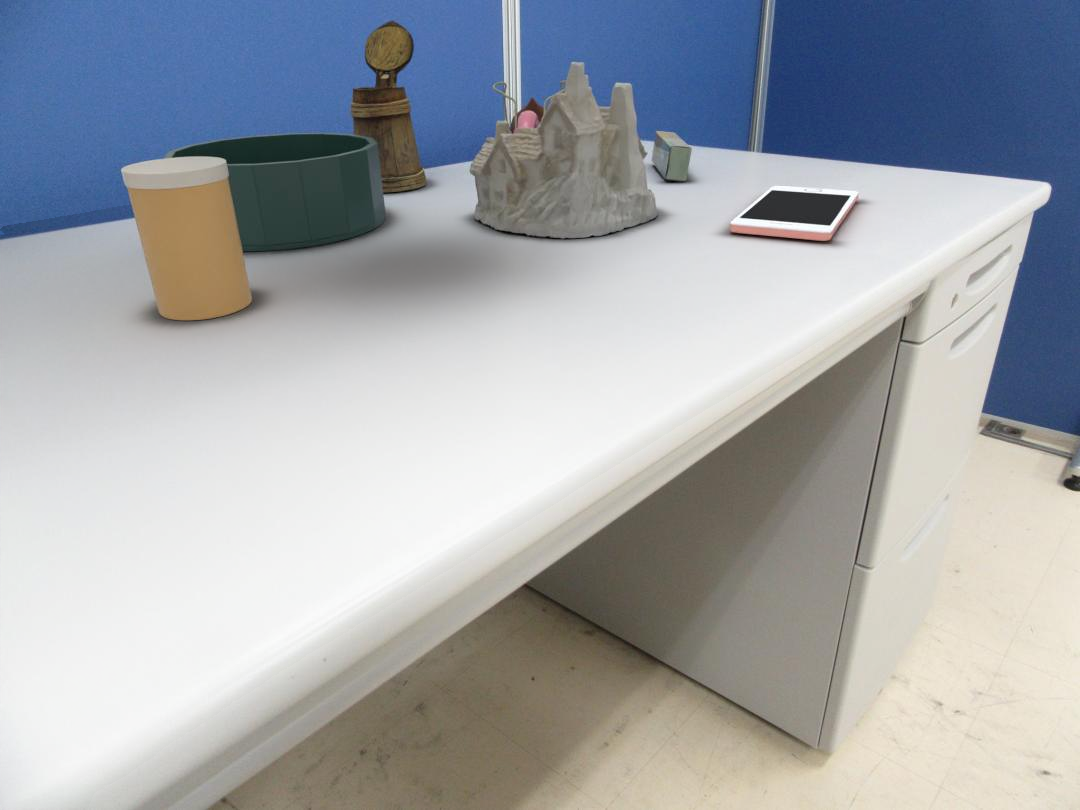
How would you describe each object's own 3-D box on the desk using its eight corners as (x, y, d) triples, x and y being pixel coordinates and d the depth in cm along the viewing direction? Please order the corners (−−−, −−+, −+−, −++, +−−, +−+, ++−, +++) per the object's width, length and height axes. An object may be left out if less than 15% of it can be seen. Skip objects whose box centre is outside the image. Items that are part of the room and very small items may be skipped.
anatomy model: (478, 159, 92) (486, 50, 96) (495, 217, 105) (501, 119, 109) (566, 158, 91) (570, 48, 95) (571, 216, 104) (574, 118, 108)
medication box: (687, 182, 93) (693, 147, 91) (664, 180, 93) (670, 145, 91) (670, 162, 104) (675, 130, 102) (650, 161, 104) (654, 129, 102)
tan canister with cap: (137, 313, 56) (98, 170, 52) (209, 286, 62) (180, 154, 57) (202, 326, 54) (167, 176, 49) (272, 297, 59) (247, 159, 54)
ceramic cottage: (681, 213, 78) (677, 48, 72) (555, 252, 69) (539, 67, 63) (576, 200, 89) (565, 56, 83) (457, 232, 80) (434, 73, 74)
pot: (139, 238, 76) (118, 158, 72) (283, 198, 91) (271, 129, 88) (291, 260, 67) (276, 171, 64) (422, 212, 83) (415, 137, 79)
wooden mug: (441, 171, 103) (428, 19, 95) (417, 193, 91) (401, 20, 83) (374, 172, 104) (357, 21, 96) (342, 193, 92) (319, 23, 84)
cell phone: (858, 199, 82) (859, 190, 82) (829, 242, 68) (830, 231, 67) (772, 193, 86) (773, 184, 85) (728, 232, 72) (728, 222, 71)
